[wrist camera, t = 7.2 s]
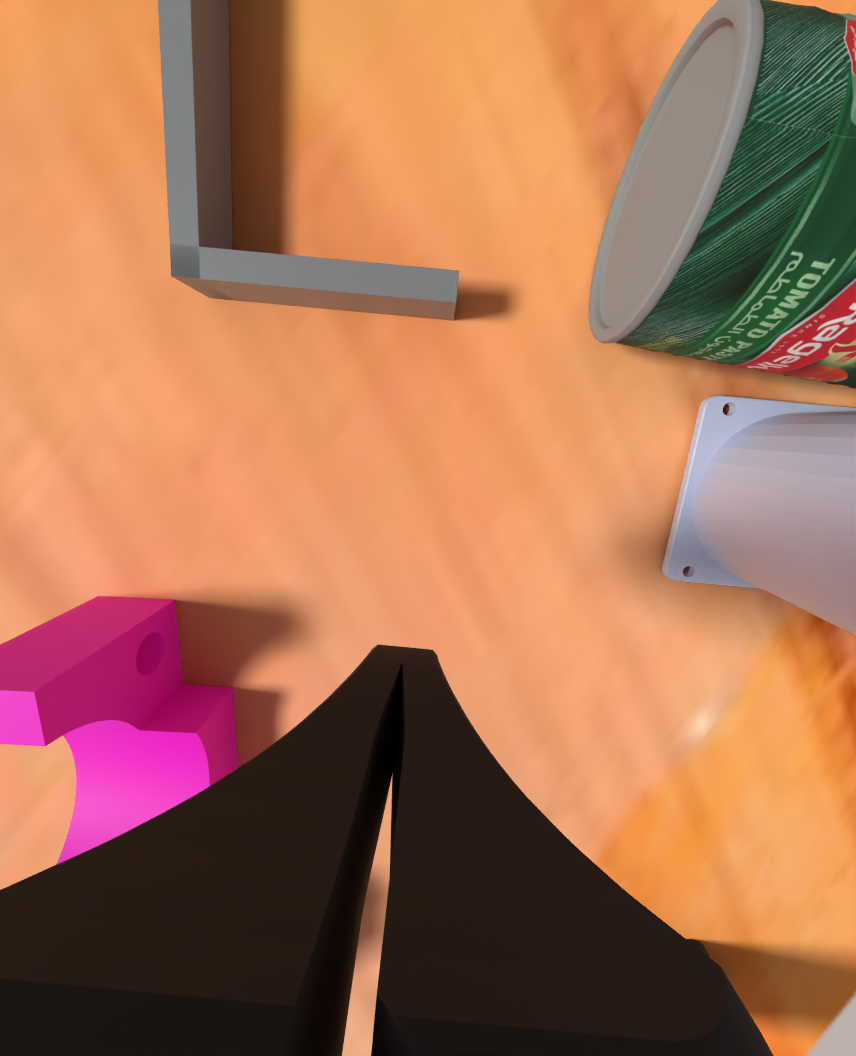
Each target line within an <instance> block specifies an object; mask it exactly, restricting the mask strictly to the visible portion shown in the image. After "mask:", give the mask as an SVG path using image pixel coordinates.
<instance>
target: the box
mask: <svg viewBox="0 0 856 1056" xmlns="http://www.w3.org/2000/svg"><path fill="white" fill-rule="evenodd" d="M158 10H159V31H160V51H161V72H162V92H163V113H164V133H165V154H166V174H167V195H168V215H169V236H170V256H171V276H172V277H174V278H176V279H177V280H179V281H181V282H183V283H184V284H186V285H188V286H190V287H191V288H193V289H195V290H197V291H198V292H200V293H202V294H204V295H205V296H207V297H209V298H218V299H229V300H239V301H250V302H261V303H272V304H283V305H293V306H304V307H315V308H326V309H337V310H347V311H358V312H369V313H380V314H391V315H401V316H412V317H423V318H434V319H445V320H454V314H455V307H456V299H457V289H458V278H459V271H457V270H446V269H435V268H424V267H414V266H403V265H392V264H381V263H370V262H360V261H349V260H338V259H327V258H316V257H306V256H295V255H284V254H273V253H262V252H252V251H241V250H233V228H232V171H231V114H230V57H229V0H158Z"/></svg>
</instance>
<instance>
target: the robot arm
mask: <svg viewBox="0 0 856 1056" xmlns="http://www.w3.org/2000/svg"><path fill="white" fill-rule="evenodd" d="M725 404H728V405H729V412H728V413H727V414H726V415H724V413H723V407H724V405H725ZM687 566H689V568H690V569H689V571H688V572H687V573H686V574H683V570H684V568H685V567H687ZM662 572H663V574H664V575H665V576H666V577H667V578H669V579H671V580H674V581H684V582H694V583H705V584H716V585H727V586H738V587H748V588H759V589H763V590H765V591H767V592H769V593H771V594H773V595H775V596H777V597H779V598H781V599H783V600H785V601H787V602H789V603H791V604H793V605H795V606H797V607H799V608H801V609H803V610H805V611H807V612H809V613H811V614H813V615H815V616H817V617H819V618H821V619H823V620H825V621H827V622H829V623H831V624H833V625H835V626H837V627H839V628H841V629H843V630H845V631H847V632H849V633H851V634H853V635H855V636H856V408H852V407H841V406H830V405H820V404H809V403H798V402H787V401H776V400H766V399H755V398H744V397H733V396H722V395H717V396H709V397H707V398H706V399H704V401H703V402H702V403H701V405H700V408H699V412H698V416H697V421H696V425H695V429H694V433H693V438H692V442H691V446H690V451H689V455H688V459H687V463H686V468H685V472H684V476H683V481H682V485H681V489H680V493H679V498H678V502H677V506H676V510H675V515H674V519H673V523H672V528H671V532H670V536H669V540H668V545H667V549H666V553H665V558H664V562H663V566H662ZM392 773H393V777H392ZM391 777H392V813H391V850H390V881H389V890H388V899H387V908H386V917H385V926H384V935H383V944H382V953H381V962H380V971H379V980H378V989H377V999H376V1010H375V1021H374V1032H373V1043H372V1053H371V1056H773V1054H772V1052H771V1050H770V1049H769V1047H768V1045H767V1043H766V1041H765V1039H764V1038H763V1036H762V1034H761V1032H760V1030H759V1029H758V1027H757V1026H756V1024H755V1022H754V1021H753V1019H752V1017H751V1016H750V1014H749V1013H748V1011H747V1009H746V1008H745V1006H744V1005H743V1003H742V1001H741V1000H740V998H739V996H738V995H737V993H736V992H735V990H734V988H733V986H732V985H731V983H730V981H729V980H728V978H727V976H726V974H725V973H724V971H723V969H722V968H721V967H720V966H719V965H718V964H716V963H715V962H714V961H713V960H711V959H710V958H709V957H708V956H706V955H705V954H704V953H703V952H701V951H700V950H699V949H697V948H696V947H695V946H694V945H692V944H691V943H690V942H689V941H687V940H686V939H685V938H684V937H682V936H681V935H680V934H679V933H677V932H676V931H675V930H674V929H672V928H671V927H670V926H668V925H667V924H666V923H665V922H663V921H662V920H661V919H660V918H658V917H657V916H656V915H655V914H653V913H652V912H651V911H650V910H648V909H647V908H646V907H645V906H643V905H642V904H641V903H639V902H638V901H637V900H636V899H634V898H633V897H632V896H631V895H629V894H628V893H627V892H626V891H625V890H624V889H622V888H621V887H620V886H619V885H618V884H617V883H616V882H614V881H613V880H612V879H611V878H610V877H609V876H608V875H607V874H605V873H604V872H603V871H602V870H601V869H600V868H599V867H598V866H597V865H595V864H594V863H593V862H592V861H591V860H590V859H589V858H588V857H586V856H585V855H584V854H583V853H582V852H581V851H580V850H579V849H578V848H577V847H576V846H575V845H574V844H572V843H571V842H570V841H569V840H568V839H567V838H566V837H565V836H564V835H563V834H562V833H561V832H560V831H559V830H558V829H557V828H556V827H555V826H554V825H553V824H552V823H551V822H550V821H549V820H548V818H547V817H546V816H545V815H544V814H543V813H542V812H541V811H540V810H539V809H538V808H537V807H536V806H535V805H534V804H533V803H532V802H531V801H530V800H529V799H528V798H527V797H526V795H525V794H524V793H523V792H522V791H521V790H520V789H519V787H518V786H517V785H516V784H515V783H514V782H513V780H512V779H511V778H510V777H509V775H508V774H507V773H506V772H505V770H504V769H503V768H502V767H501V765H500V764H499V763H498V762H497V760H496V759H495V758H494V756H493V755H492V754H491V752H490V751H489V749H488V748H487V747H486V745H485V744H484V742H483V741H482V739H481V738H480V736H479V735H478V733H477V732H476V730H475V729H474V727H473V726H472V724H471V723H470V721H469V720H468V718H467V716H466V715H465V713H464V711H463V710H462V708H461V706H460V704H459V702H458V701H457V699H456V697H455V695H454V694H453V692H452V690H451V688H450V686H449V684H448V682H447V680H446V677H445V675H444V673H443V671H442V668H441V666H440V663H439V661H438V657H437V655H436V653H435V652H434V651H433V650H429V649H418V648H408V647H397V646H387V645H377V646H376V647H374V648H373V649H372V650H371V651H370V653H369V654H368V655H367V657H366V658H365V659H364V660H363V661H362V663H361V664H360V665H359V666H358V667H357V668H356V669H355V670H354V672H353V673H352V674H351V675H350V676H349V677H348V678H347V679H346V680H345V681H344V682H343V683H342V684H341V685H340V686H339V687H338V688H337V689H336V690H335V691H334V692H333V693H332V694H331V695H330V696H329V697H328V698H327V699H326V700H325V701H324V702H323V703H322V704H321V705H319V706H318V707H317V708H316V709H315V710H314V711H313V712H312V713H311V714H309V715H308V716H307V717H306V718H305V719H304V720H303V721H302V722H300V723H299V724H298V725H297V726H296V727H294V728H293V729H292V730H291V731H289V732H288V733H287V734H286V735H284V736H283V737H282V738H281V739H279V740H278V741H277V742H275V743H274V744H273V745H271V746H270V747H269V748H267V749H266V750H265V751H263V752H262V753H260V754H259V755H258V756H256V757H255V758H253V759H252V760H250V761H249V762H247V763H246V764H244V765H242V766H241V767H239V768H238V769H236V770H235V771H233V772H231V773H230V774H228V775H227V776H225V777H223V778H222V779H220V780H219V781H217V782H215V783H214V784H212V785H211V786H209V787H208V788H206V789H204V790H203V791H201V792H199V793H198V794H196V795H194V796H192V797H191V798H189V799H187V800H185V801H183V802H182V803H180V804H178V805H176V806H174V807H173V808H171V809H169V810H167V811H165V812H164V813H162V814H160V815H158V816H156V817H154V818H152V819H150V820H148V821H146V822H144V823H142V824H140V825H139V826H137V827H135V828H133V829H131V830H129V831H127V832H125V833H123V834H121V835H119V836H117V837H115V838H113V839H111V840H109V841H107V842H105V843H103V844H101V845H99V846H96V847H94V848H92V849H90V850H88V851H85V852H83V853H81V854H79V855H77V856H74V857H72V858H70V859H68V860H66V861H64V862H61V863H59V864H57V865H55V866H53V867H50V868H48V869H46V870H44V871H42V872H39V873H37V874H35V875H33V876H31V877H28V878H26V879H24V880H22V881H20V882H17V883H15V884H13V885H11V886H9V887H6V888H4V889H2V890H0V1056H342V1050H343V1043H344V1036H345V1029H346V1022H347V1015H348V1008H349V1001H350V994H351V987H352V980H353V973H354V966H355V959H356V952H357V945H358V938H359V931H360V924H361V918H362V913H363V907H364V902H365V897H366V891H367V886H368V882H369V877H370V873H371V868H372V864H373V859H374V855H375V850H376V846H377V841H378V837H379V832H380V828H381V823H382V819H383V814H384V809H385V805H386V800H387V796H388V791H389V787H390V782H391Z"/></svg>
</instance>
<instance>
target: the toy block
mask: <svg viewBox="0 0 856 1056" xmlns="http://www.w3.org/2000/svg"><path fill="white" fill-rule="evenodd" d="M61 736H64V737H65V739H66V740H67V742H68V744H69V746H70V748H71V750H72V753H73V756H74V760H75V766H76V776H77V787H76V799H75V806H74V811H73V817H72V820H71V824H70V828H69V832H68V835H67V838H66V841H65V844H64V847H63V850H62V852H61V855H60V858H59V860H58V863H57V864H59V863H61V862H64V861H66V860H68V859H70V858H72V857H74V856H77V855H79V854H81V853H83V852H85V851H88V850H90V849H92V848H94V847H96V846H99V845H101V844H103V843H105V842H107V841H109V840H111V839H113V838H115V837H117V836H119V835H121V834H123V833H125V832H127V831H129V830H131V829H133V828H135V827H137V826H139V825H140V824H142V823H144V822H146V821H148V820H150V819H152V818H154V817H156V816H158V815H160V814H162V813H164V812H165V811H167V810H169V809H171V808H173V807H174V806H176V805H178V804H180V803H182V802H183V801H185V800H187V799H189V798H191V797H192V796H194V795H196V794H198V793H199V792H201V791H203V790H204V789H206V788H208V787H209V786H211V785H212V784H214V783H215V782H217V781H219V780H220V779H222V778H223V777H225V776H227V775H228V774H230V773H231V772H233V771H235V770H236V769H238V768H239V765H238V752H237V739H236V726H235V714H234V701H233V688H232V687H216V686H195V685H184V682H183V673H182V663H181V654H180V645H179V636H178V627H177V618H176V608H175V600H166V599H145V598H123V597H102V596H98V597H96V598H94V599H92V600H90V601H88V602H86V603H84V604H82V605H80V606H78V607H76V608H73V609H71V610H69V611H67V612H65V613H63V614H61V615H59V616H57V617H55V618H53V619H51V620H49V621H47V622H45V623H43V624H41V625H39V626H37V627H35V628H33V629H31V630H29V631H27V632H25V633H23V634H21V635H19V636H17V637H15V638H13V639H11V640H9V641H7V642H5V643H3V644H1V645H0V744H11V745H31V746H46V745H48V744H50V743H51V742H53V741H54V740H56V739H57V738H59V737H61Z"/></svg>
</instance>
